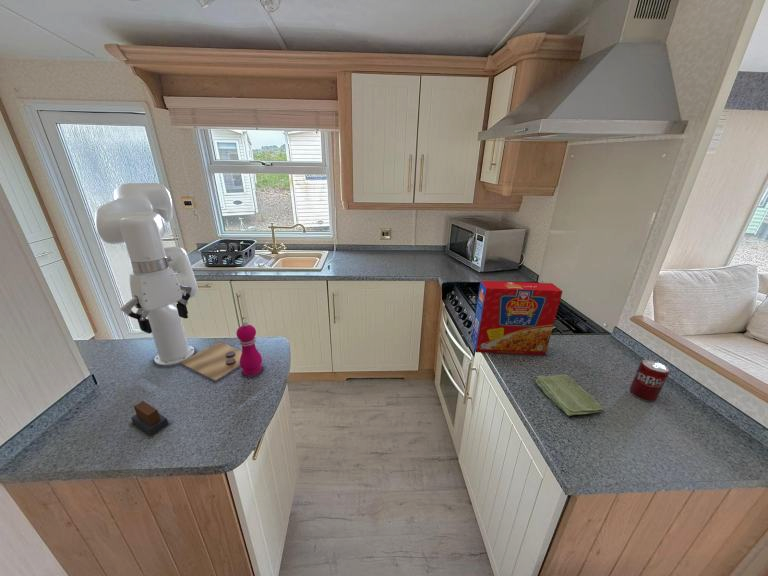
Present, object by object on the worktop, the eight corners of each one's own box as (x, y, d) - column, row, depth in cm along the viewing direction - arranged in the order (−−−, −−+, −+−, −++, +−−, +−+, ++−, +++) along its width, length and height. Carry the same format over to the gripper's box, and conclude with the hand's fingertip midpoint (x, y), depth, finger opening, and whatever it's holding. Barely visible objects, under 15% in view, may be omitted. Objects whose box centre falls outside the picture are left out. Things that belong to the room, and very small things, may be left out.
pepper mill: (255, 379, 104) (247, 328, 97) (237, 376, 106) (227, 325, 98) (267, 366, 111) (260, 318, 103) (249, 364, 112) (241, 315, 105)
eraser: (132, 422, 86) (127, 407, 84) (150, 412, 90) (145, 397, 88) (151, 435, 82) (145, 419, 80) (168, 424, 86) (163, 408, 84)
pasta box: (475, 352, 123) (486, 288, 113) (470, 341, 131) (480, 280, 120) (545, 355, 123) (562, 291, 112) (536, 344, 130) (552, 283, 120)
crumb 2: (224, 363, 111) (223, 361, 110) (231, 359, 113) (231, 357, 113) (229, 366, 109) (229, 364, 109) (237, 361, 112) (237, 359, 112)
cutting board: (179, 364, 111) (179, 362, 111) (219, 343, 124) (219, 341, 124) (215, 382, 102) (215, 380, 102) (254, 357, 116) (254, 356, 115)
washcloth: (568, 420, 91) (570, 411, 90) (531, 381, 107) (533, 373, 106) (605, 414, 94) (608, 406, 92) (564, 377, 110) (566, 370, 109)
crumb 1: (224, 356, 115) (223, 354, 114) (231, 352, 117) (231, 350, 117) (229, 358, 113) (229, 356, 113) (237, 354, 116) (236, 352, 116)
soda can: (631, 384, 107) (643, 356, 103) (657, 395, 102) (671, 365, 98) (627, 394, 102) (639, 365, 98) (654, 406, 98) (669, 375, 93)
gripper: (175, 255, 87) (188, 309, 94) (101, 272, 73) (123, 335, 79) (192, 259, 84) (204, 314, 91) (119, 277, 70) (139, 342, 76)
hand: (166, 324), depth 85 cm, fingers open, 9 cm apart
